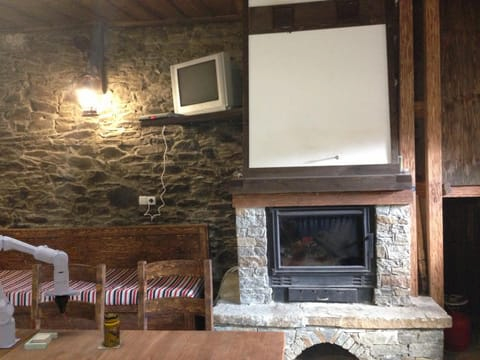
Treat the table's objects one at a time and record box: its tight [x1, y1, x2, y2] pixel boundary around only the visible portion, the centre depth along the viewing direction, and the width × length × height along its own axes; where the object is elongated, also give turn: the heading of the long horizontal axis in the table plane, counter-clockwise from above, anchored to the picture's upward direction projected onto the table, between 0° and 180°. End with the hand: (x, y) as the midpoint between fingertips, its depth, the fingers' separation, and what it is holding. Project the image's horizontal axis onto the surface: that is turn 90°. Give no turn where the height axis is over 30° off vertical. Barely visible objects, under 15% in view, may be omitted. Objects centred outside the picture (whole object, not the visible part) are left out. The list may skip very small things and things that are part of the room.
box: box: [23, 332, 58, 351], centre depth 165 cm, size 8×11×2 cm
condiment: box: [97, 312, 123, 350], centre depth 163 cm, size 7×8×12 cm
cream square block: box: [33, 334, 52, 347], centre depth 165 cm, size 5×5×3 cm
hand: (62, 312), depth 173 cm, fingers closed
